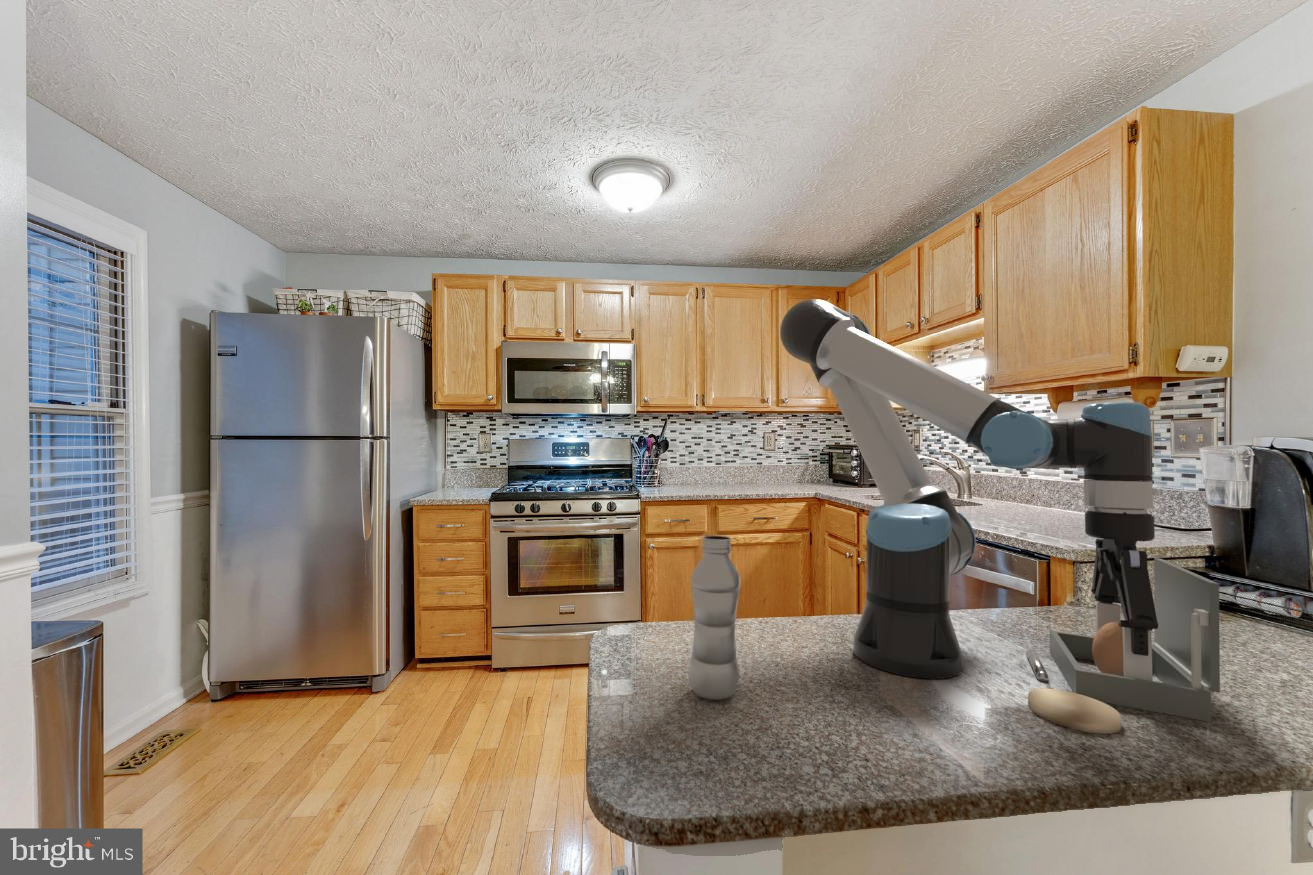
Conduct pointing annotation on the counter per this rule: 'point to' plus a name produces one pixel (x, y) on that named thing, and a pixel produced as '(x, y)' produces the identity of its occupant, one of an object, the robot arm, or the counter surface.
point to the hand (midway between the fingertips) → (1122, 661)
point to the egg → (1109, 649)
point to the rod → (1037, 665)
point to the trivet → (1074, 711)
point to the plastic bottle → (714, 621)
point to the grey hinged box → (1160, 651)
